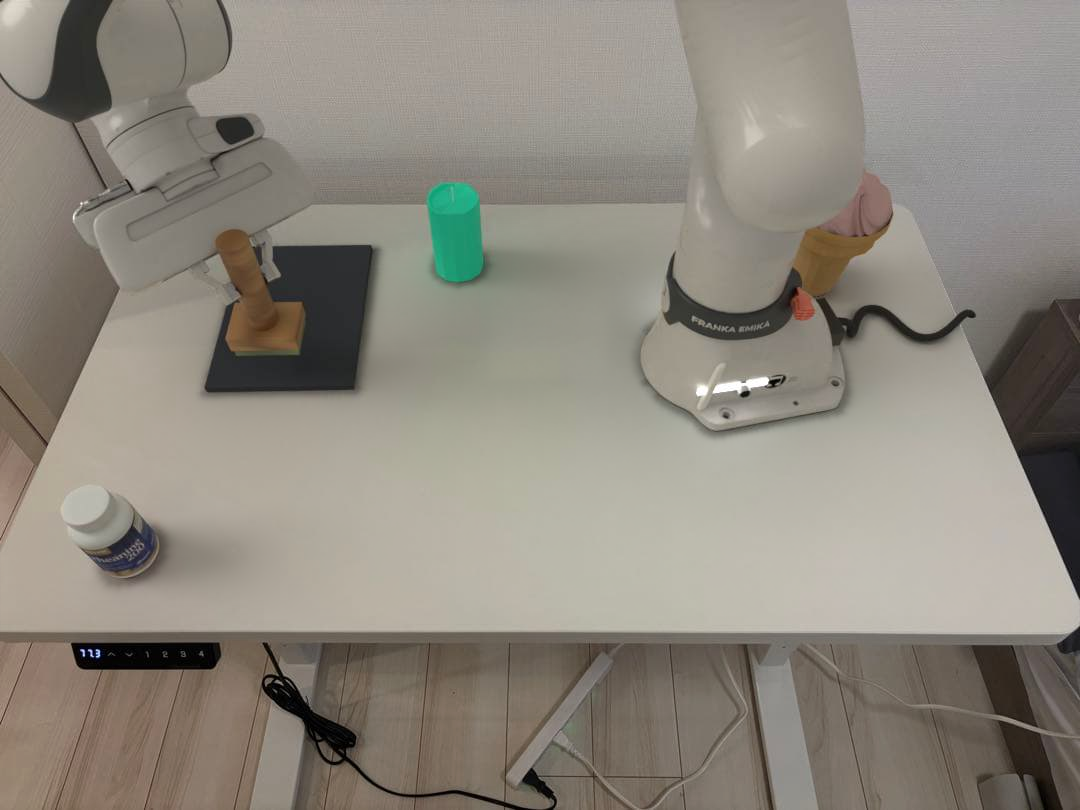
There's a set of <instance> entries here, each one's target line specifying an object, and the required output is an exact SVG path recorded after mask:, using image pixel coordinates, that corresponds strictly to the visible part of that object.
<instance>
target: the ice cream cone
mask: <svg viewBox="0 0 1080 810" xmlns="http://www.w3.org/2000/svg"><path fill="white" fill-rule="evenodd" d="M893 218H894V208H893V201H892V197H891V193H890V190H889V187H888V186H887V185H885V184H883V183H882V182H881V180H880V178H879V177H878V176H877V175H875V174H873V173H870V172H867V170H866V166H865V164H864V167H863V175H862V180H861V184H860V187H859V189H858V191H857V193H856V195H855V196H854V198H853V199H852V201H851V202H850V203H849V204H848V206H847V207H846V208H845V209H844V210H843V211H841V212H840V213H839V214H838V215H837V216H835V217H834V218H832V219H831V220H829V221H827V222H826V223H824V224H822V225H820V226H817V227H815V228H812V229H809V230H806V231H805V234H804V236H803V239H802V242H801V244H800V247H799V250H798V252H797V255H796V258H795V261H794V263H793V264H794V268H795V269H796V270H797V271H798V272H799V274H800V276H801V279H802V283H803V285H802V288H801V290H803V291H806V292H807V293H809V294H810V295H811V296H812V297H819V296H823V295H825V294H826V293H828V292H829V291H831V290H832V289H833V288H834V287H835V286H836V285H837V282H838V281H839V279H840V278H841V276H842V275H843V273H844V271H845V270H846V269H847V266H848V265H849V263H850V261H851V260H852V259H854V258H855V257H858V256H862V255H865V254H866V253H868V252H869V251H870V250H871V249H872V248H873V247H874V245H875V242H877V241H878V240H879V239H881V237H883V236H884V235H885V234H886V233H887V232H888V230H889V228H890V226H891V223H892V221H893Z"/></svg>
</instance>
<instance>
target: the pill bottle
mask: <svg viewBox="0 0 1080 810" xmlns="http://www.w3.org/2000/svg"><path fill="white" fill-rule="evenodd" d="M60 515H61V518H62V520H63V521H64V522H65V523H66V524H67V525H66V529H67V535H68V537H69V539H70V540H71V541H72V543H74V544H75V545H76V547H78V548H79V549H80V550H81V551H82V552H83V553H84V554H85V555H86V556H87V557H89V559H91V560H92V562H94V563H95V564H96V565H97V566H98V567H99V568H100V569H101V570H102V571H103V572H105V573H106V575H108V576H110V577H112V578H116V579H127V578H132V577H135V576H138V575H140V574H141V573H143V572H144V571H146V570H147V569H149V568H150V567H151V565H153V563H154V561H155V560H156V558H157V556H158V554H159V551H160V540H159V537H158V535H157V534H156V532H155V531H154V530H153V528H152V527H151V525H149V524H148V522H147V521H146V520H145V519H144V518H143V517H142V515H141V514H140V513H139V512H138V511H137V509H136V508H135V507H134V506H133V504H131V502H130V501H129V500H128V499H127V498H126V497H125V496H124V495H123V496H122V495H121V494H119V493H116V492H111V491H109V490H108V489H106V487H104V486H102V485H99V484H84V485H81V486H79V487H77V488H76V489H74V490H72V491H71V492H70V493H69V494H68V495H67V496H66V497H65V498H64V500H63V501H62V503H61V506H60Z"/></svg>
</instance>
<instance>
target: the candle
mask: <svg viewBox="0 0 1080 810" xmlns="http://www.w3.org/2000/svg"><path fill="white" fill-rule="evenodd" d="M426 205H427V212H428V220H429V227H430V233H431V234H430V235H431V244H432V250H433V258H434V265H435V266H434V267H435V269H436V273H437V275H439V276H440V277H441V278H442V279H444V280H445V281H449V282H453V283H463V282H468V281H472V280H473V279H474V278H477V277H478V276H479V275H480V274H481V272H482V270H483V268H484V264H485V263H484V250H483V249H484V248H483V233H482V220H481V219H482V218H481V201H480V196H479V194H478V192H477V190H475V189H474V188H473V186H471V185H470V184H469V183H466V182H465V183H463V182H440V183H439V184H438V185H435V186H434V187H432V188H431V189H430V190H429V192H428V195H427V196H426Z"/></svg>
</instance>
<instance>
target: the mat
mask: <svg viewBox="0 0 1080 810" xmlns="http://www.w3.org/2000/svg"><path fill="white" fill-rule="evenodd" d="M252 247H253V250H254V253H255V255H256V258H257V260H258V263H259V266H261V265H263V263H262V246H259V247H255V246H254V245H252ZM272 248H273V259H272V261H273V262H274V264H275V266H276V267H277V269H278V271H279V272H280V274H281V277H279V278H277V279H275V280H274V281H272V282H270V283H268V284H267V287H268V289H269V292H270V295H271V297H272V300H273V302H302V305H303V308H304V311H305V314H306V316H305V321H306V324H305V329H304V334H303V340H302V345H301V350H300V355H256V356H236V354H235V352H234V351H231V350H230V348H229V346H228V343H227V341H226V339H225V338H226V334H227V331H228V327H229V323H230V319H231V315H232V311H233V308H234V304H235V303H240V301H239V299H238V300H236V301H235V302H233V303H231V304H229V305H227V306H226V305H225V309H224V313H223V316H222V321H221V326H220V328H219V331H218V336H217V340H216V344H215V347H214V351H213V355H212V358H211V362H210V366H209V369H208V372H207V377H206V381H205V384H204V390H205V392H207V393H226V392H228V393H229V392H231V393H233V392H283V391H284V392H285V391H287V392H288V391H289V392H291V391H339V390H342V391H344V390H346V391H347V390H355V383H356V376H357V369H358V361H359V355H360V353H359V352H360V345H361V338H362V330H363V323H364V316H365V315H364V314H365V309H366V301H367V293H368V284H369V278H370V271H371V263H372V255H373V246H372V244H338V245H337V244H335V245H334V244H332V245H331V244H329V245H326V244H324V245H321V244H320V245H272Z"/></svg>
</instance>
